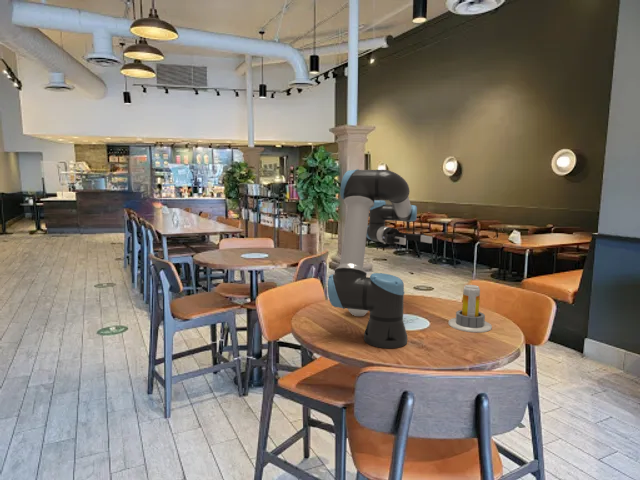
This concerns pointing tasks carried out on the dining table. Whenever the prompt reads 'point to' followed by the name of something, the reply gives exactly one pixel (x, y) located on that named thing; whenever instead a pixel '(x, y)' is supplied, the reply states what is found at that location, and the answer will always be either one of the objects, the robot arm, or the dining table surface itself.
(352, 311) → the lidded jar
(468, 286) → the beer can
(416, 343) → the dining table surface
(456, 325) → the collar stand
